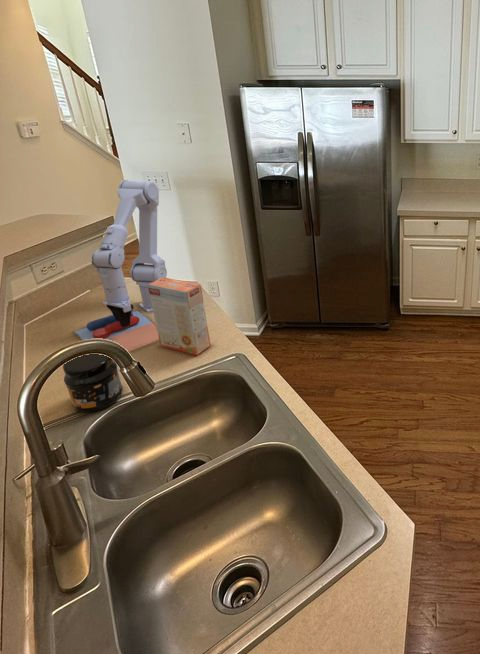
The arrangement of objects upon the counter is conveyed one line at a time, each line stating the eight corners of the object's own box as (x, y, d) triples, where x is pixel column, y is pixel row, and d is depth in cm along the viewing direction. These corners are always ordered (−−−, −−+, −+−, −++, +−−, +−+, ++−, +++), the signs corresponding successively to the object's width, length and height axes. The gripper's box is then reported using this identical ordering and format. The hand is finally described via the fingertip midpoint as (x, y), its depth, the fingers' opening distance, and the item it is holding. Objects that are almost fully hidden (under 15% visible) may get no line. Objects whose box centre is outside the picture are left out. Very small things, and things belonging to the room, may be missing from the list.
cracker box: (212, 345, 130) (201, 283, 122) (197, 356, 125) (185, 292, 117) (175, 336, 134) (163, 275, 127) (159, 346, 129) (146, 283, 121)
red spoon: (136, 319, 142) (135, 312, 141) (142, 324, 139) (141, 317, 138) (91, 336, 133) (89, 328, 132) (96, 341, 130) (94, 333, 129)
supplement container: (61, 410, 104) (48, 368, 99) (100, 382, 113) (88, 344, 109) (98, 418, 101) (85, 376, 97) (133, 389, 111) (123, 350, 107)
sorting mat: (137, 311, 148) (137, 310, 148) (169, 336, 134) (168, 335, 134) (75, 332, 135) (74, 331, 135) (103, 363, 121) (102, 361, 121)
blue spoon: (90, 334, 134) (88, 326, 132) (85, 328, 136) (83, 321, 135) (135, 318, 143) (134, 310, 142) (130, 313, 146) (128, 306, 145)
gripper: (91, 283, 133) (101, 321, 138) (108, 297, 125) (118, 337, 130) (116, 276, 138) (125, 312, 143) (135, 289, 130) (143, 328, 135)
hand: (124, 324), depth 137 cm, fingers closed on red spoon, 3 cm apart
